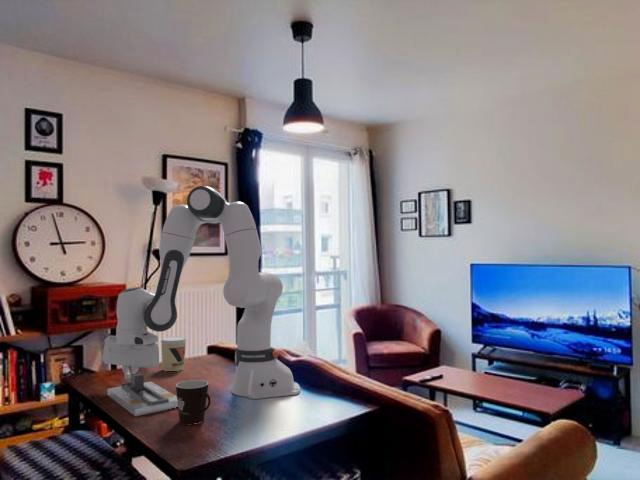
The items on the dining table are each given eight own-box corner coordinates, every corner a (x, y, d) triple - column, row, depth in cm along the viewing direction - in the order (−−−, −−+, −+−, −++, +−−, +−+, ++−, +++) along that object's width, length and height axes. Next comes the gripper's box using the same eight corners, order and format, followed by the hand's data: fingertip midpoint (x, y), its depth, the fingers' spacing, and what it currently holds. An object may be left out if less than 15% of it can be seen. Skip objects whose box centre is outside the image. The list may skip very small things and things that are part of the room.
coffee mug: (173, 418, 135) (173, 381, 135) (205, 414, 139) (205, 378, 139) (179, 432, 125) (179, 393, 125) (213, 427, 128) (213, 389, 128)
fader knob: (130, 388, 156) (131, 374, 156) (139, 386, 158) (139, 372, 158) (134, 390, 153) (134, 376, 154) (143, 389, 155) (143, 374, 155)
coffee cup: (171, 373, 184) (172, 341, 184) (155, 370, 189) (155, 339, 190) (190, 368, 192) (191, 338, 192) (174, 365, 197) (175, 335, 197)
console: (107, 394, 157) (107, 385, 157) (150, 387, 165) (150, 378, 166) (135, 416, 136) (135, 405, 137) (183, 406, 145) (183, 396, 145)
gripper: (98, 336, 162) (97, 378, 162) (149, 340, 155) (149, 384, 155) (112, 333, 168) (111, 374, 168) (162, 337, 161) (161, 379, 161)
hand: (130, 379), depth 161 cm, fingers closed
